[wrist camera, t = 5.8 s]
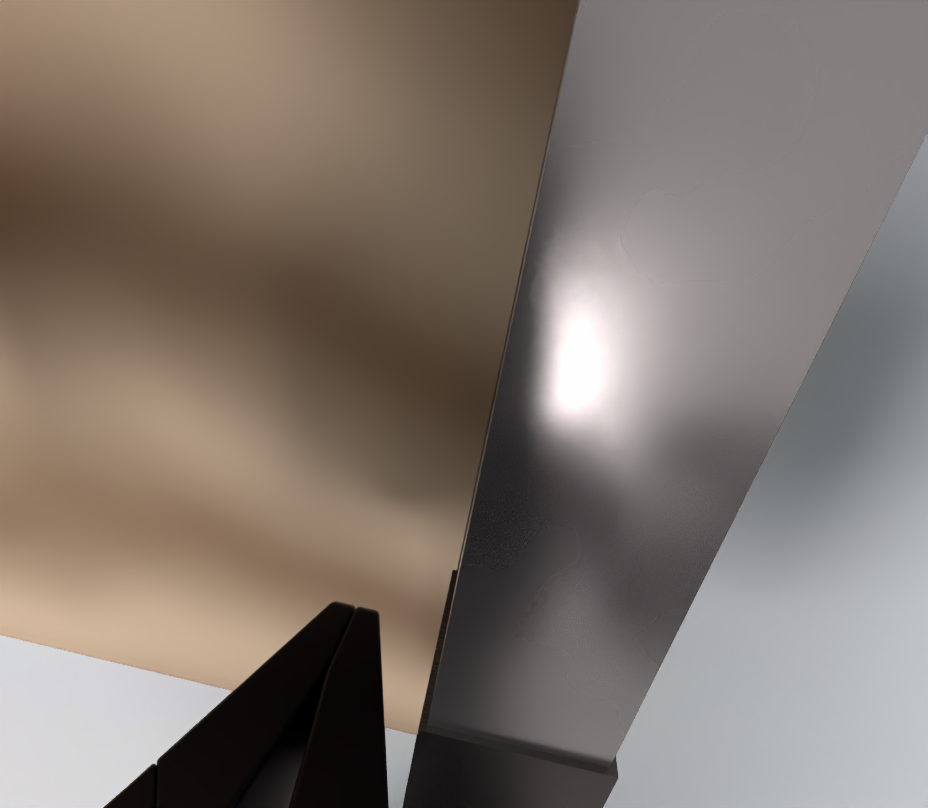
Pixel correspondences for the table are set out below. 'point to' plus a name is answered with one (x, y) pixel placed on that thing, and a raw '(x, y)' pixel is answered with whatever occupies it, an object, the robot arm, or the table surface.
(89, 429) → the serving board
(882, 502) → the table surface
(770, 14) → the tongs upper
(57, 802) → the table surface
